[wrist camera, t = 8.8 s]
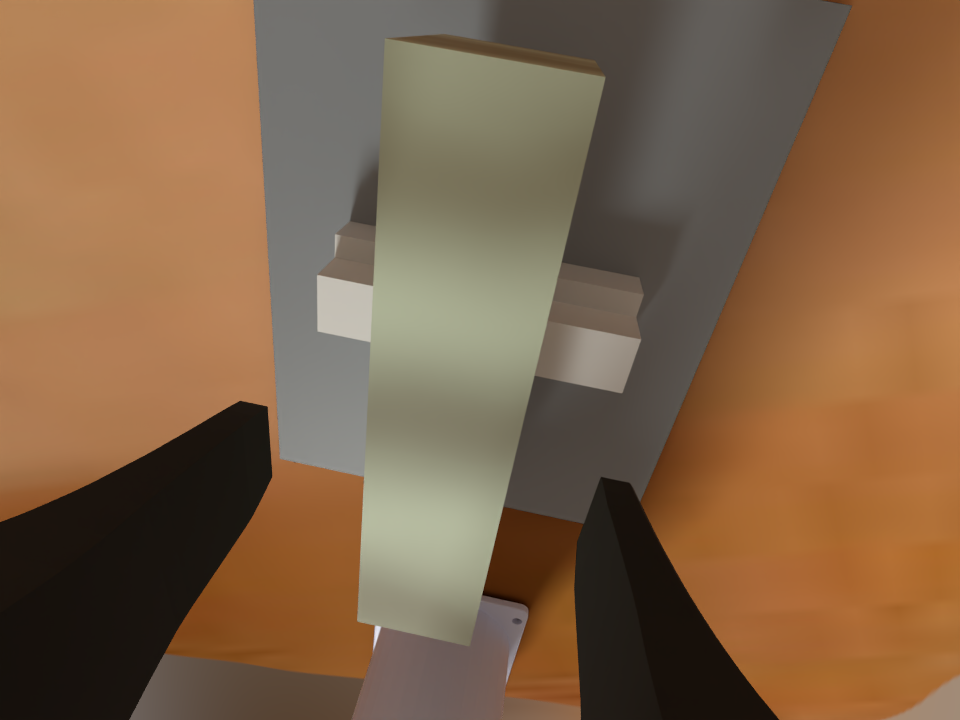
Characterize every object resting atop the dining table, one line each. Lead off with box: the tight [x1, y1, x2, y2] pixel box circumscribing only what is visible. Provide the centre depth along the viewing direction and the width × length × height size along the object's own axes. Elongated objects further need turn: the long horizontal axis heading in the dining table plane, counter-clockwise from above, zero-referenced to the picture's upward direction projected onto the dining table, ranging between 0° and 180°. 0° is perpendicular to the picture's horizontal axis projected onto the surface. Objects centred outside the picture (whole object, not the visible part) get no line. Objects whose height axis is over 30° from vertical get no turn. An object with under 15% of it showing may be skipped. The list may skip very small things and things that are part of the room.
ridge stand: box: [254, 0, 852, 524], centre depth 19 cm, size 20×16×4 cm
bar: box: [357, 34, 606, 647], centre depth 15 cm, size 16×4×5 cm, turn 172°
